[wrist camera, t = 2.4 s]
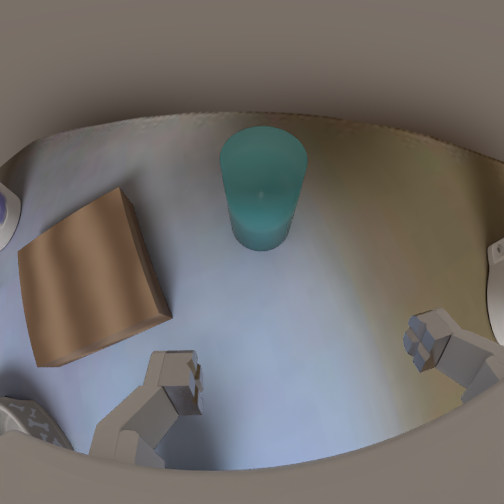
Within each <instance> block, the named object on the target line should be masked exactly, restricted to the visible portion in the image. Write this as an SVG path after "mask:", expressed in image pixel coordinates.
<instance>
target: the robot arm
mask: <svg viewBox="0 0 504 504" xmlns="http://www.w3.org/2000/svg"><path fill="white" fill-rule="evenodd" d="M488 260H489V278H488V287H487V302H488V312H489V318H490V323H491V326H492V330H493V333H494V335H495V337H496V339H497V341H498V343H499V344H498V343H495V342H493V341H491V340H488V339H486V338H484V337H482V336H479V335H477V334H475V333H472V332H470V331H468V330H465V329H464V330H462V329H461V328H460V327H459V325H458V324H457V323H456V322H455V321H454V320H453V319H452V318H451V316H450V315H449V314H448V313H447V312H446V311H445V310H444V309H443V308H441V307H439V308H436V309H433V310H430V311H426V312H423V313H419V314H416V315H413V316H411V318H410V319H409V322H408V325H409V328H408V329H407V331H406V332H405V334H404V338H403V341H404V347H405V350H406V351H407V353H408V354H409V355H411V356H413V363H414V364H415V366H416V367H417V369H418V371H419V372H420V373H421V372H423V371H426V370H429V369H432V368H434V367H436V369H438V370H439V371H441V372H442V373H444V374H445V375H447V376H448V377H450V378H451V379H453V380H454V381H456V382H457V383H459V384H460V385H462V386H463V387H465V388H466V391H465V392H464V393H463V395H462V396H461V400H462V402H463V404H462V405H461V406H459V407H457V408H455V409H454V410H452V411H450V412H448V413H446V414H444V415H442V416H440V417H438V418H436V419H434V420H432V421H430V422H428V423H426V424H424V425H422V426H419V427H417V428H415V429H413V430H410V431H408V432H405V433H403V434H400V435H398V436H395V437H393V438H390V439H387V440H385V441H382V442H379V443H376V444H373V445H370V446H367V447H364V448H360V449H357V450H354V451H350V452H347V453H343V454H339V455H335V456H331V457H327V458H322V459H317V460H313V461H307V462H302V463H296V464H290V465H283V466H276V467H267V468H257V469H245V470H221V471H202V470H178V469H165V461H164V460H163V459H162V458H161V457H160V456H159V455H158V454H157V453H156V452H155V451H154V449H155V447H156V446H157V445H158V443H159V442H160V441H161V440H162V438H163V437H164V436H165V434H166V433H167V432H168V430H169V429H170V428H171V426H172V425H173V424H174V422H175V421H176V420H177V418H178V417H179V415H202V404H203V399H202V396H201V394H200V393H201V392H202V391H203V385H204V382H203V373H202V369H201V365H199V364H198V363H197V361H198V356H197V354H196V351H194V350H183V351H154V352H153V353H152V354H151V358H150V361H149V365H148V369H147V373H146V376H145V380H144V384H143V386H139V387H138V388H136V389H135V390H134V391H133V392H132V393H131V394H130V395H129V396H128V397H127V398H126V399H124V400H123V401H122V402H121V403H120V404H119V405H118V406H117V407H116V408H115V409H113V410H112V411H111V412H110V413H109V414H108V415H107V416H106V417H105V418H103V419H102V420H101V421H100V422H99V423H98V424H97V426H96V429H95V433H94V436H93V440H92V444H91V447H90V451H89V455H86V454H83V453H79V452H76V451H72V450H69V449H66V448H63V447H60V446H57V445H54V444H51V443H48V442H45V441H43V440H40V439H38V438H35V437H33V436H30V435H28V434H26V433H24V432H21V431H19V430H15V429H12V430H9V431H7V432H5V433H4V434H2V435H1V436H0V504H504V238H502V239H501V240H499V241H497V242H495V243H493V244H491V245H490V246H489V247H488Z"/></svg>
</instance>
